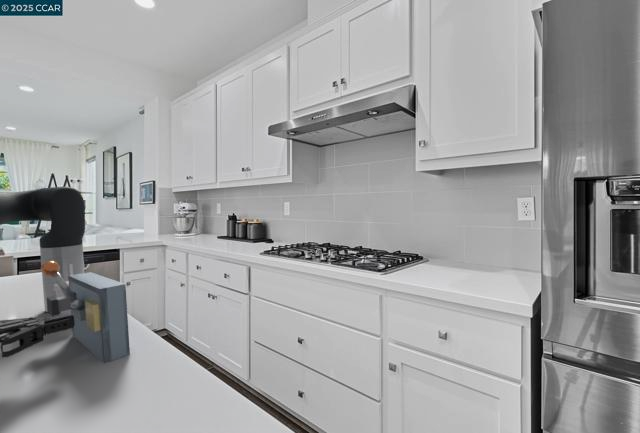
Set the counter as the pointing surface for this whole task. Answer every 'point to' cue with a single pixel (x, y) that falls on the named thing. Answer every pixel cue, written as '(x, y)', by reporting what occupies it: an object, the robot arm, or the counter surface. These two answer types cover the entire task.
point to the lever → (61, 283)
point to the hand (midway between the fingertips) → (73, 320)
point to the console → (102, 315)
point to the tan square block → (93, 315)
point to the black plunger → (57, 305)
